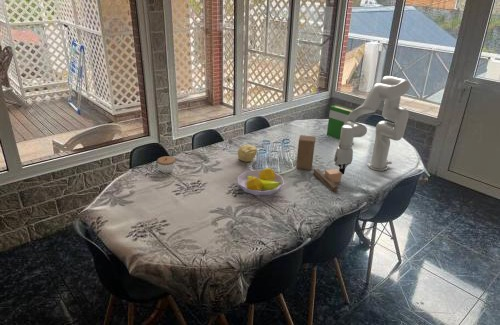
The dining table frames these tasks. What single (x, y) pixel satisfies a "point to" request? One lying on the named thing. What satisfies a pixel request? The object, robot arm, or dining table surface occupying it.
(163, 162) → the lidded jar
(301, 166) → the wooden block
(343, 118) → the hardback book
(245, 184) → the fruit bowl
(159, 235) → the dining table surface
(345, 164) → the robot arm
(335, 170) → the block
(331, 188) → the brown wooden bar
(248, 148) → the pale yellow lumpy ball
